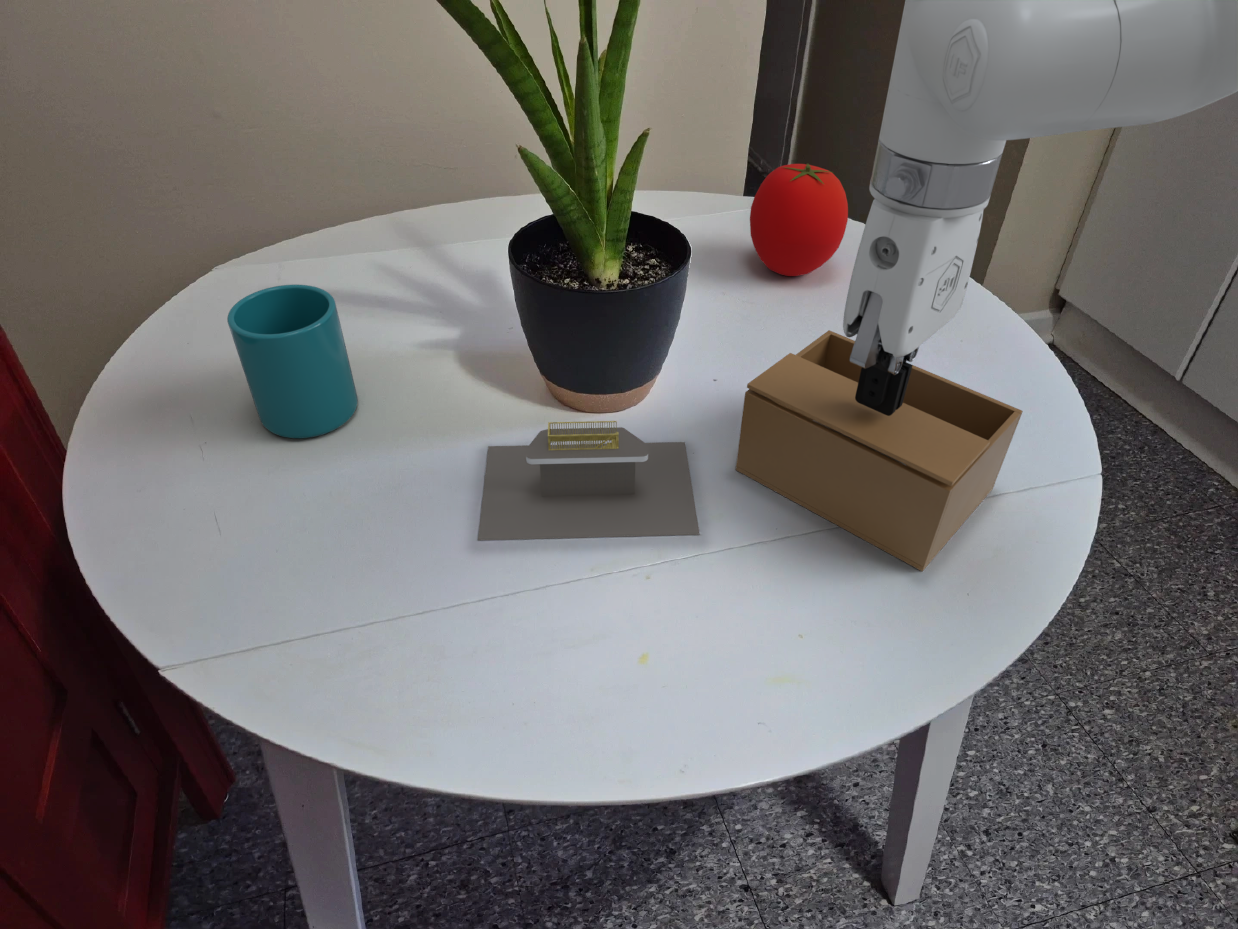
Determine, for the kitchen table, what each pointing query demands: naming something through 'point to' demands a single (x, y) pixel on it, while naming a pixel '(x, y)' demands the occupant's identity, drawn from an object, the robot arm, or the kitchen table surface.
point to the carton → (875, 461)
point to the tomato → (798, 218)
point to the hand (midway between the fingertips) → (877, 404)
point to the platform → (587, 487)
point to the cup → (294, 359)
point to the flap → (871, 419)
